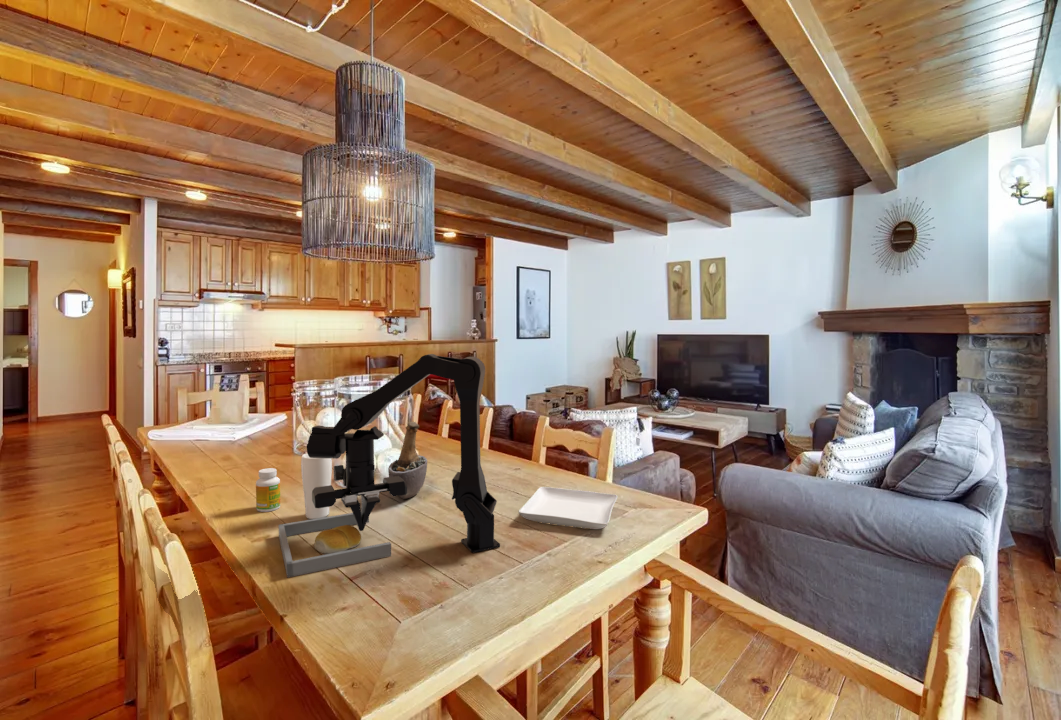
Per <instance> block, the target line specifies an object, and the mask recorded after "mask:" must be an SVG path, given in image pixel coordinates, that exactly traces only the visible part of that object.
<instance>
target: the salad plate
mask: <svg viewBox="0 0 1061 720" xmlns="http://www.w3.org/2000/svg"><path fill="white" fill-rule="evenodd" d="M617 500H618V495H617V494H615V493H606V492H597V491H596V492H595V491H589V490H581V489H580V490H579V489H571V488H561V487H551V486H540V487H538V488H537V490H536V491H535V492H534V493H533V494H532V495H531V496H530V498H529V499H528V500H527V501H526V502H525V503H524V505H522V506H521V507H520V508H519V510H518V514H519V515H520V516H521V517H523V518H524V519H526V520H528V521H533V522H536V521H537V523H539V522H542V523H541V524H545V523H550V524H549V525H552V524H557V525H556V526H560V525H565V526H564V527H568V526H573V527H572V528H576V527H582V528H581V529H585V528H590V529H589V530H600V529H603V528H605V527H607V526H608V525H609V523H610V519H611V517H612V516H611V515H612V511H613V508H614V506H615V504H616V502H617Z"/></svg>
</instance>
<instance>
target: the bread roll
mask: <svg viewBox="0 0 1061 720" xmlns="http://www.w3.org/2000/svg"><path fill="white" fill-rule="evenodd" d="M361 539H362V534H361V531H360V530H359V528H358V527H355V526H354V525H344V526H339V527H335V528H332V529H326V530H321V531H320V532H318V534H317V536H316V537H315V538H314V543H313V544H314V549H315V550H316V551H318V552H319V553H321V554H323V555H326V554H331V553H336V552H341V551H346V550H352V549H355V548H356V547H357V546H358V545H359V544H360V543H361Z"/></svg>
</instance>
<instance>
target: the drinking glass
mask: <svg viewBox="0 0 1061 720" xmlns="http://www.w3.org/2000/svg"><path fill="white" fill-rule="evenodd" d="M332 459H333V458H310V457H309V456H308V453H307V452H306V453H303V454H302V455H301V459H300V460H301V465H300V466H301V480H302V491H303V499H304V508H305V511H304V512H305V514H304V515H305V518H307V519H308V520H311V519H317V518H324V517H329V515H330V507H324V508H315V506H314V504H313V501H312V491H313V489H314V488H315V487H322V486H330V485H332V476H333V473H332V472H333V460H332Z"/></svg>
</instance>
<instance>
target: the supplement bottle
mask: <svg viewBox="0 0 1061 720" xmlns="http://www.w3.org/2000/svg"><path fill="white" fill-rule="evenodd" d="M277 472H278V471H277V469H276V468H275V467H274V468H273V467H269V468H262V469H259V470H258V479H257V480H256V482H255V503H256V504H255V506H256V511H257V512H262V513H265V512H274V511H276V510H278V509H280V507H281V479H280V478H279V477H278V476H277V474H278V473H277Z"/></svg>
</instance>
